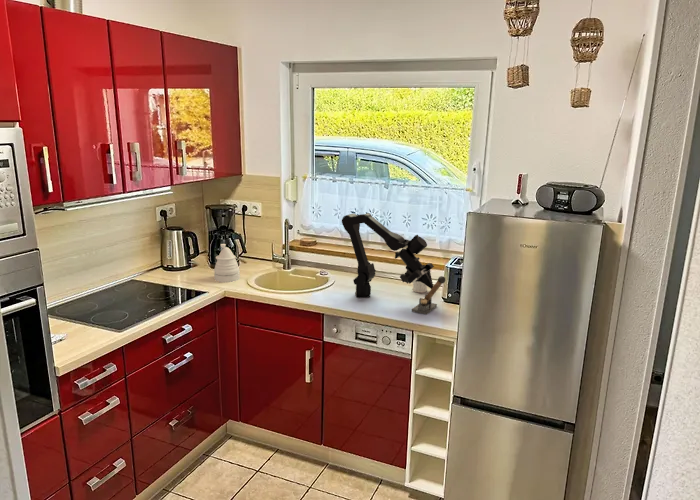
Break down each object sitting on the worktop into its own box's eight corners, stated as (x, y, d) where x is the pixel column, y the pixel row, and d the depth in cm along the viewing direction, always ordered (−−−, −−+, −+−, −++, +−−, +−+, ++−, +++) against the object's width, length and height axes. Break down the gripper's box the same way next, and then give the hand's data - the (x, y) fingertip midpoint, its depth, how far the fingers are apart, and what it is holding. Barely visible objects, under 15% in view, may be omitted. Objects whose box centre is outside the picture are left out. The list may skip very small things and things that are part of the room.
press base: (411, 311, 228) (412, 298, 227) (422, 303, 239) (423, 290, 237) (426, 314, 225) (427, 300, 223) (437, 306, 235) (437, 293, 234)
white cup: (427, 293, 253) (428, 273, 250) (411, 292, 254) (411, 272, 252) (428, 288, 260) (429, 269, 258) (412, 287, 262) (413, 268, 259)
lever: (420, 301, 232) (439, 275, 225) (423, 298, 235) (442, 273, 228) (425, 306, 231) (445, 280, 224) (428, 303, 235) (448, 278, 227)
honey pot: (209, 279, 269) (207, 245, 265) (227, 273, 280) (225, 241, 276) (227, 283, 263) (225, 249, 259) (245, 277, 273) (244, 244, 269)
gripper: (406, 266, 245) (427, 292, 242) (389, 275, 229) (411, 304, 226) (423, 252, 239) (444, 279, 236) (406, 260, 223) (429, 289, 220)
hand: (432, 288), depth 230 cm, fingers closed, pressing on lever
